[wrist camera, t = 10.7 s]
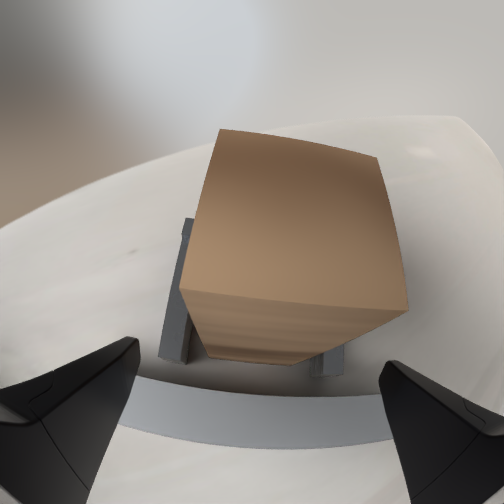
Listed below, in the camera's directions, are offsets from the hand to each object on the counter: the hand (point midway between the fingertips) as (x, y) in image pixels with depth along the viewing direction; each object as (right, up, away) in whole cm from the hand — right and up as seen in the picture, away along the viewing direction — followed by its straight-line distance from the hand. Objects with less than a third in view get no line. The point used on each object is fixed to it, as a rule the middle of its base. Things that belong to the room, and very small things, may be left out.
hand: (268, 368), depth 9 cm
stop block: (0, -1, +8) cm, 8 cm away
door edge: (-1, -6, +5) cm, 8 cm away
